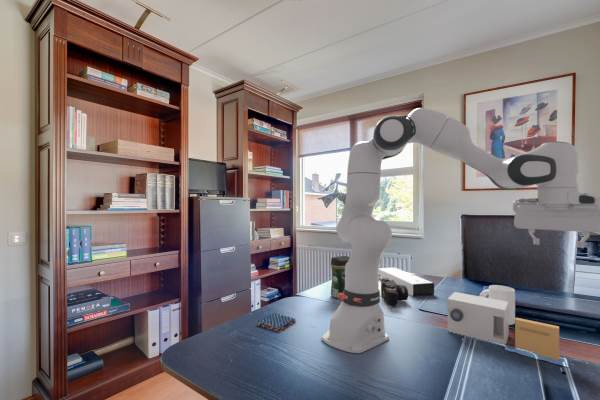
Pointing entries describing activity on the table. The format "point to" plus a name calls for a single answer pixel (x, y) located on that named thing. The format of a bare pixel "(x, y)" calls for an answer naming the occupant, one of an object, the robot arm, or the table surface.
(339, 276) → the coffee jar
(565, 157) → the robot arm
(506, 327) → the housing
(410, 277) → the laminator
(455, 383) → the table surface
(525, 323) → the side door
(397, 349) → the table surface
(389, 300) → the camera
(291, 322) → the woven mat
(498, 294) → the mug
